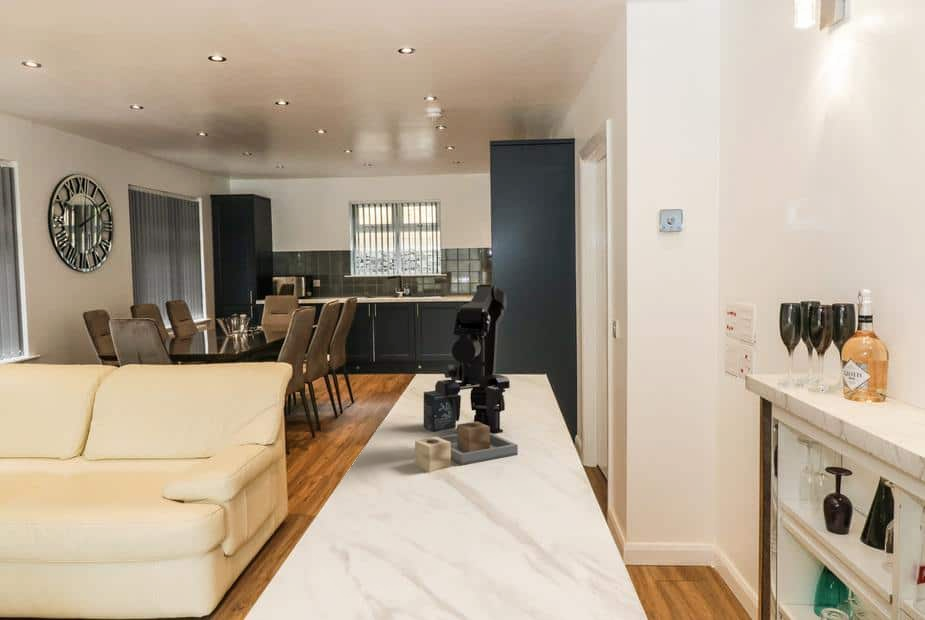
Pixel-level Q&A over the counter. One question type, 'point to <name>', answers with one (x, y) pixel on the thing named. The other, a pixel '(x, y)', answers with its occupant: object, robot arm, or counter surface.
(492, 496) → the counter surface
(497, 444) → the tray
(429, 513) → the counter surface
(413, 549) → the counter surface
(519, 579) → the counter surface
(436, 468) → the block
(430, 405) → the box
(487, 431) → the block
